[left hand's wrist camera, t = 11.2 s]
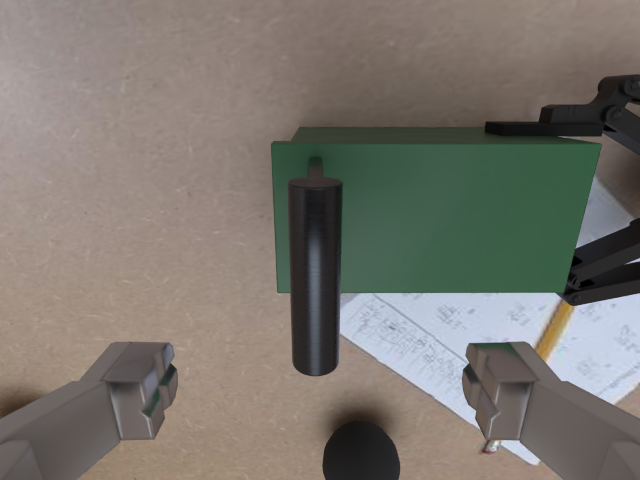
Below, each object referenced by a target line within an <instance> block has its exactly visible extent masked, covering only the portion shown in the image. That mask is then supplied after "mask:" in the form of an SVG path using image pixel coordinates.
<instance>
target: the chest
mask: <svg viewBox="0 0 640 480" xmlns="http://www.w3.org/2000/svg"><path fill="white" fill-rule="evenodd" d="M484 131H485V128H423V127H300V128H299V129H298V130H297V132H296V133H295V135H294V137H293V138H292V140H291V141H581V140H575V139H569V138H563V137H557V136H500V135H495V134H490V133H485V132H484Z"/></svg>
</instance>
